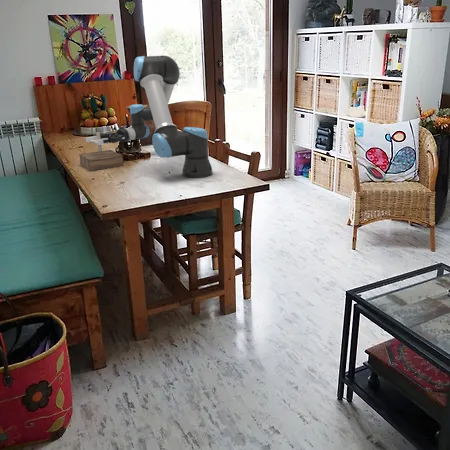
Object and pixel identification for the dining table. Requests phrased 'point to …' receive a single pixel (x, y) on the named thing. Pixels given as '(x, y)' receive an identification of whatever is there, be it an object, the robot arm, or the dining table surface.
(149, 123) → the jug
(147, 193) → the dining table surface
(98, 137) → the pipe connector
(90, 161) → the stand
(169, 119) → the robot arm
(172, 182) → the dining table surface
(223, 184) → the dining table surface
